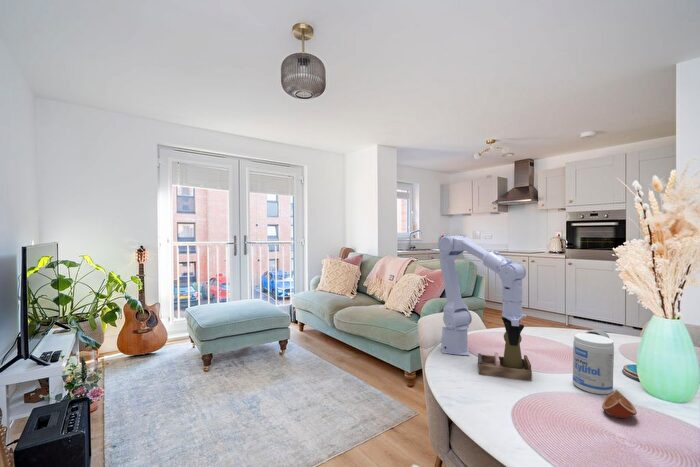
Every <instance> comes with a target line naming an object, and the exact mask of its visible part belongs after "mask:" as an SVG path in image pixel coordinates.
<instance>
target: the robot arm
mask: <svg viewBox="0 0 700 467" xmlns="http://www.w3.org/2000/svg"><path fill="white" fill-rule="evenodd" d="M437 245H438V249H439V256H438V257H439V265H440V269H441V275H442V280H443V286H444V292H445V298H446V302H447V303H446V304H445V306H444V307H443V316H442V317H443V318H442V320H443V323H444V325H445V326H442V328H441V353H442V354H447V355H448V354H450V355H458V356H459V355H460V356H469V355H470V354H469V353H470V352H469V350H470V349H469V347H468V342H469V341H468V337H469V336H468V329H469V325H471V324H472V321H473V317H472V314H471V312H470V311H469V307H468V305H467V304H466V303H465V302H463V300H462V299H463V298H462V294H461V288H460V282H459V278H458V273H457V266H456V262H455V260H456V259H457V258H458V257H459V256H460V255H462V254H463V253H464V252H467V253H469V254H470V255H472V256H474V257H476V258H478V259H480V260H481V261H482V265H483V266H485V267H486V268H487V269H490V270H491V271H493V272H494V273H496V274H497V275H498V276H499V279H500V280H501V285H502V313H501V320H502V322H503V326H504V328H505V332H507V333H508V339H509V344H510V345H511V346H517V345H518V341H519V337H520V335H521V333H522V332H523V330H524V328H525V325H524V324H520V322H521V320H523V319H526V318H527V315H526V314H525V313H523V279H525V277H526V274H527V271H526V268H525V266H524V265H523V264H521V263H520V262H512V259H510V258H506V257H505V256H502V255H501V254H500V253H501V252H499V251H498V250H496V251H493V250H492V251H491V250H490V251H488V250H486V249H485V248H483V247H481V246H480V245H479V244H477V243H475V242H474V241H473V240H471V239H470V237H466V235H464V234H460V235H443V236H442V237H441V238H440V240H439V241H438V243H437Z"/></svg>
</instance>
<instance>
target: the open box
mask: <svg viewBox="0 0 700 467" xmlns="http://www.w3.org/2000/svg"><path fill="white" fill-rule="evenodd" d="M498 356H499V360H500V367H498V366H495V355H490V354H482V353H480V352H478V353H477V365H478V366H477V368H478V375H481V376H488V377H489V376H490V377H495V378H496V377H497V378H504V379H512V380H517V381H518V380H520V381H526V380H527V381H528V382H532V381H533V370H532V364H531V362H530V360H529V358H528V355H527V354H524V355H523V358H522V362H523V369H515V368H507V367H504V366H503V358H504V356H500V355H498Z"/></svg>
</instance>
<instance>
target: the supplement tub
mask: <svg viewBox="0 0 700 467" xmlns="http://www.w3.org/2000/svg"><path fill="white" fill-rule="evenodd" d="M572 346H573V347H572V348H573V352H572V354H573V355H572V383H573V384H574V386H576V387H577V388H578V389H581V391H584V392H588V393H591V394H596V395H609V394H611V393H612V392H614V391H613V390H614V367H615V366H614V360H615V359H614V356H615V345H614V340H613V339H611V338H607V337H604V336H601V335H596V334H589V333H586V332H579V333H575V334H574V338H573V345H572Z"/></svg>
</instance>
